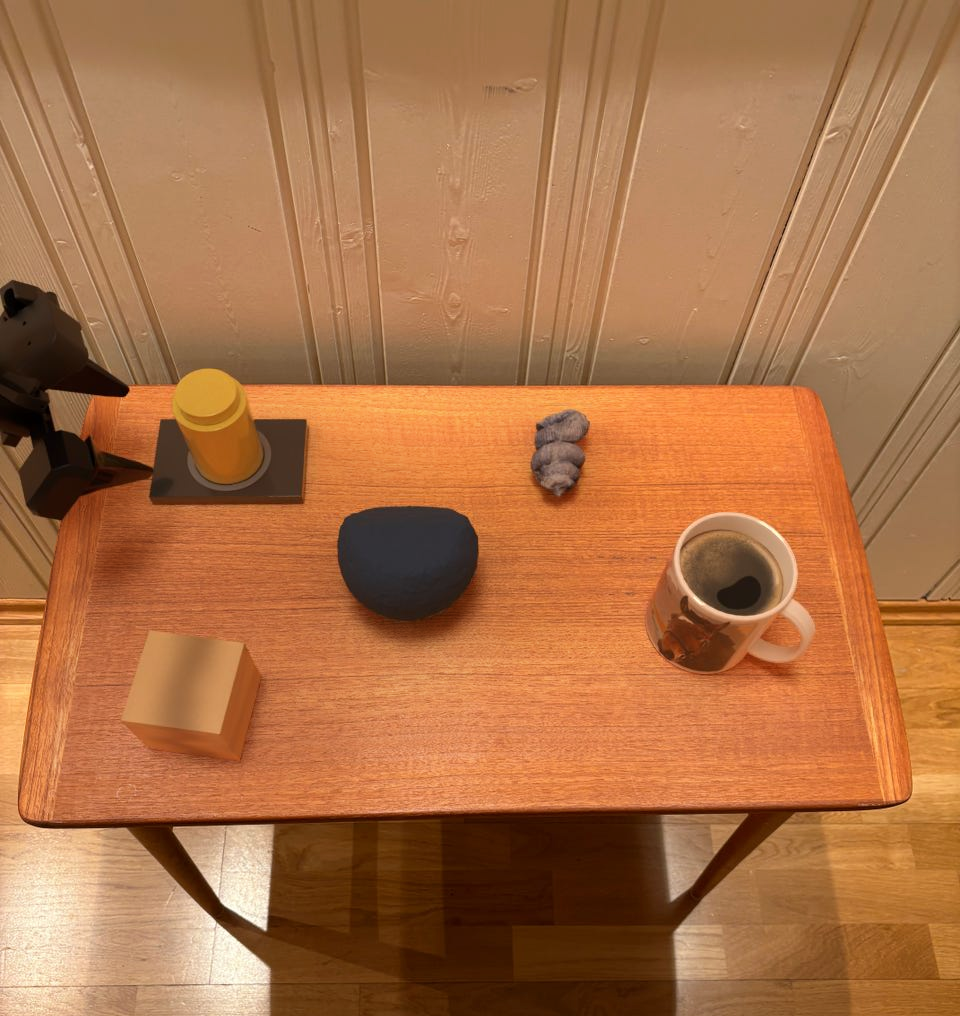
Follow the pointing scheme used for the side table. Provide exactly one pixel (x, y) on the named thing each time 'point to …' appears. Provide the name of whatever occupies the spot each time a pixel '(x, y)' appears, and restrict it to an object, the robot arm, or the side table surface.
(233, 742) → the cube
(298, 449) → the hob
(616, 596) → the side table surface
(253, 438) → the jar
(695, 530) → the mug
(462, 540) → the decorative stone
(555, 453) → the seashell
